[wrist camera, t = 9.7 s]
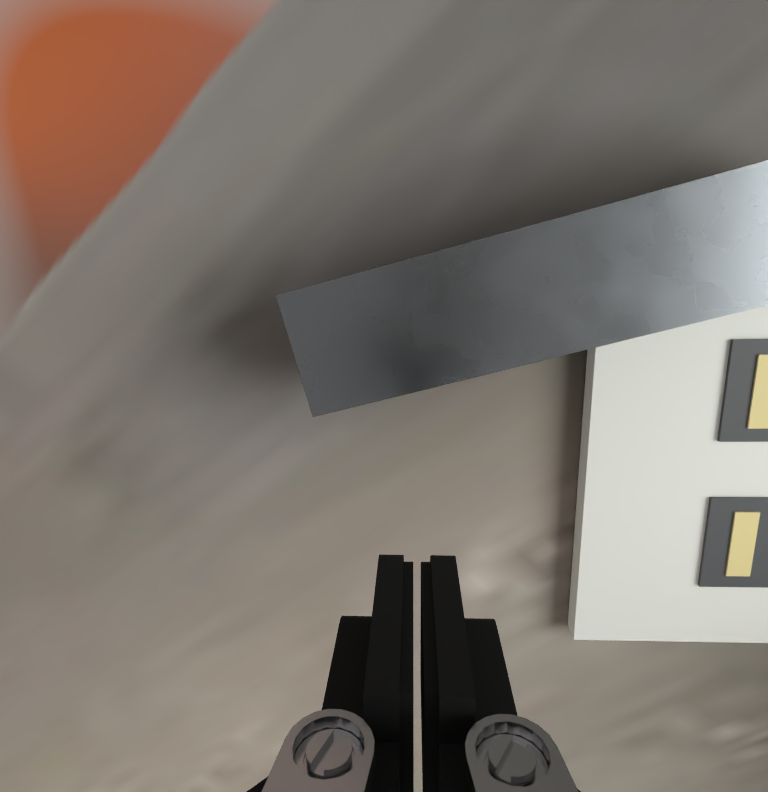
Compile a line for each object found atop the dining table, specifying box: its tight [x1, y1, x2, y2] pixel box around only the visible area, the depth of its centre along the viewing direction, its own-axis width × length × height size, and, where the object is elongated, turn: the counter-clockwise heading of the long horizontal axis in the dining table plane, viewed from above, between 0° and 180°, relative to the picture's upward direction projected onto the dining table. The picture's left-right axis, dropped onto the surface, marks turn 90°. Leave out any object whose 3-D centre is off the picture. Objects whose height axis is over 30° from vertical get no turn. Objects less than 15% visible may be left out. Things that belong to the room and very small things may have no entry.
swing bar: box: [276, 160, 768, 417], centre depth 22 cm, size 24×5×4 cm, turn 105°
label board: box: [568, 305, 768, 643], centre depth 26 cm, size 23×16×2 cm
